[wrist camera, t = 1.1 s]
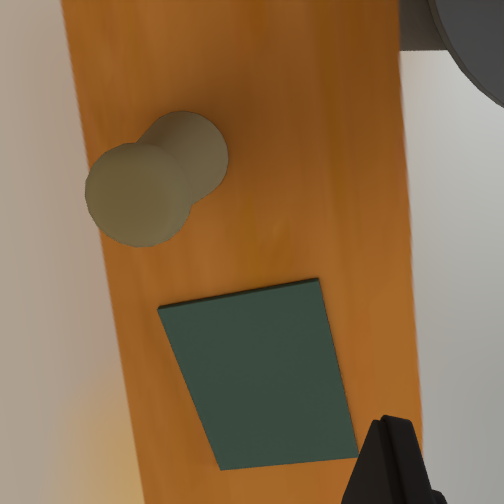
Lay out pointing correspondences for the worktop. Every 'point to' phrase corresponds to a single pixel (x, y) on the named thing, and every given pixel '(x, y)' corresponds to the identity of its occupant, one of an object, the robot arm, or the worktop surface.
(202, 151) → the cork
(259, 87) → the worktop surface
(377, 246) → the worktop surface
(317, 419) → the side mat
